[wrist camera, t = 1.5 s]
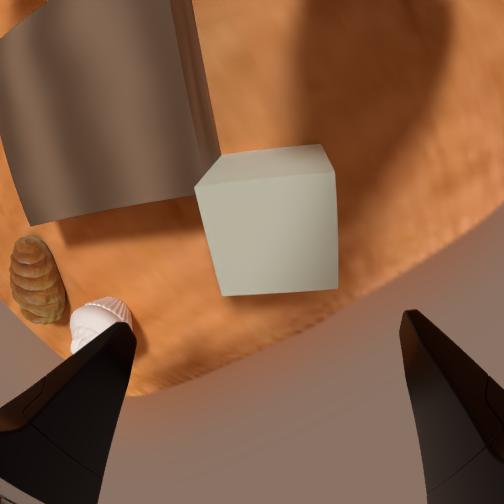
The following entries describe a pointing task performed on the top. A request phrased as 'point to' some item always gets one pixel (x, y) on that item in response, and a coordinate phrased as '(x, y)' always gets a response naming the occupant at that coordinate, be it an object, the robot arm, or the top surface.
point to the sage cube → (271, 220)
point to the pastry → (36, 281)
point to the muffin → (96, 320)
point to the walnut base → (104, 106)
